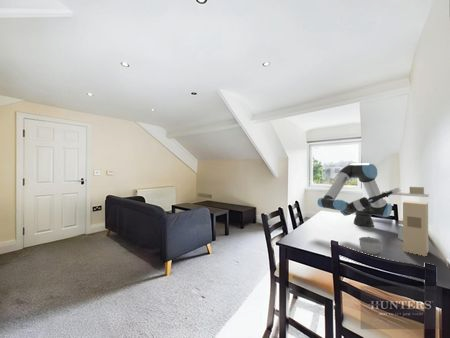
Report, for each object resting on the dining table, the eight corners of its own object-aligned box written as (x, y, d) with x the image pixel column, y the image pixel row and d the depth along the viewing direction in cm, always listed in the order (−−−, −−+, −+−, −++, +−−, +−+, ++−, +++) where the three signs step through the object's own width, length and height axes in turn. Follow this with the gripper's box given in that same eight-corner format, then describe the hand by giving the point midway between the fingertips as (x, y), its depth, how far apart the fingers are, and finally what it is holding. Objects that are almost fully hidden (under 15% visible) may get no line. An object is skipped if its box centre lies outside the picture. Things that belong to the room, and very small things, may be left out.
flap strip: (382, 193, 135) (382, 185, 135) (428, 196, 119) (428, 187, 119) (381, 194, 133) (381, 185, 133) (428, 197, 116) (427, 187, 116)
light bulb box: (419, 244, 133) (419, 228, 133) (407, 243, 134) (407, 227, 134) (408, 239, 143) (408, 224, 144) (397, 238, 145) (397, 223, 145)
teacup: (380, 258, 112) (380, 244, 112) (357, 252, 119) (357, 239, 120) (382, 250, 123) (382, 237, 123) (361, 246, 130) (361, 234, 130)
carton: (406, 246, 129) (406, 200, 129) (428, 251, 121) (427, 202, 122) (403, 251, 121) (402, 202, 122) (426, 256, 114) (425, 204, 114)
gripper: (369, 207, 147) (405, 193, 132) (361, 210, 136) (400, 195, 121) (362, 198, 150) (397, 183, 134) (355, 200, 139) (392, 184, 123)
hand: (398, 189), depth 128 cm, fingers closed on flap strip, 4 cm apart
